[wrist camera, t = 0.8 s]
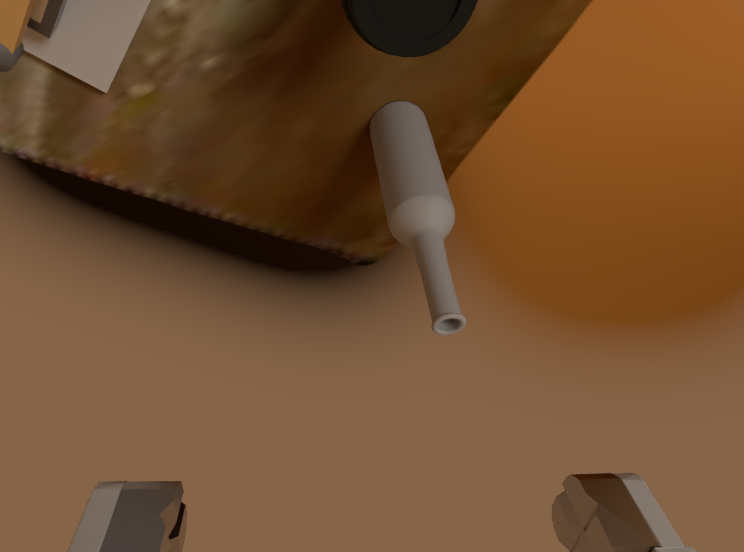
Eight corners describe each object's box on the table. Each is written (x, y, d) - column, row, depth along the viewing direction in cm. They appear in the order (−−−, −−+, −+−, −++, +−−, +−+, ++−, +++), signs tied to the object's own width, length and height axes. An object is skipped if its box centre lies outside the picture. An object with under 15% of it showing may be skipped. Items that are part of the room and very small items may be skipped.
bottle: (436, 131, 59) (502, 328, 41) (388, 160, 61) (431, 358, 43) (408, 89, 55) (469, 288, 36) (358, 121, 57) (392, 324, 39)
